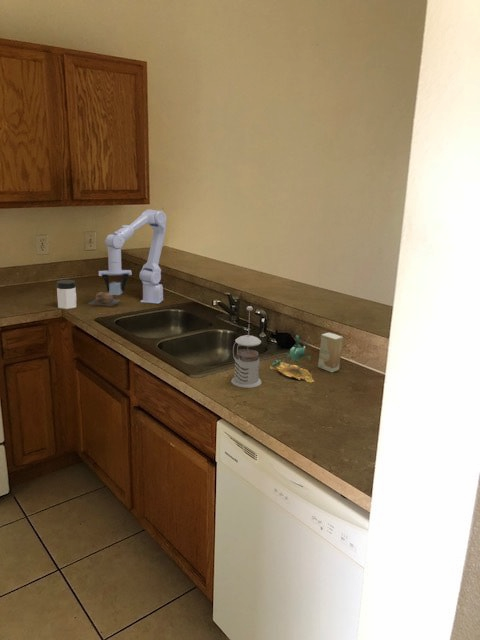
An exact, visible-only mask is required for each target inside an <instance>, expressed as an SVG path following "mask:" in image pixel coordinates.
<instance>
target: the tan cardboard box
mask: <svg viewBox="0 0 480 640" xmlns="http://www.w3.org/2000/svg"><path fill="white" fill-rule="evenodd" d="M95 299H96V298H95ZM113 299H114V296H113V297H112V298H110V299H108V300H104V299H96V303H103V304H109V303H110V302H112V301H113Z"/></svg>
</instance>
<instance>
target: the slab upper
mask: <svg viewBox="0 0 480 640" xmlns="http://www.w3.org/2000/svg"><path fill="white" fill-rule="evenodd" d="M112 297H113V298H114V295H109V291H107V292H106V291H100V292H98V293H96V294H95V299H104V300H108V299H110V298H112Z"/></svg>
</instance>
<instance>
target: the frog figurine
mask: <svg viewBox="0 0 480 640" xmlns="http://www.w3.org/2000/svg"><path fill="white" fill-rule="evenodd" d="M306 347H307V345H306V343H303V344H302V346H301V344H300V337H299V335H297V334H296V335H295V344H294V345H293V346H292V347H291V348H290V350H289V353H284V357H283V359H281V358H280V359H279V356H277V359H275V360H274V361H273V362H272V363H271V365H270V367H269V368H270V369H271V370H273V371H278V372H280V373H281V374H282V375H284V376H286V377H288V378H293V379H297V380H300V381H301V380H303V381H305V382H306V383H307V382H308V383H312V382H314V383H315V379H314V378H313V374H312V373H310V372H309V370H308V369H305V368H303V367H301V366H300V364H299V362H298V361H300V360H301V361H302V360H303V358H306V359H308V361H311V355H307V353H305V350H306V349H307V348H306ZM285 358H286V360H287V363H286V362H285ZM289 358H291V360H290V361H289ZM281 361H282V362H281ZM292 361H293V362H295V363H296V364H291V363H290V362H292Z"/></svg>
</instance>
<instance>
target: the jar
mask: <svg viewBox="0 0 480 640" xmlns="http://www.w3.org/2000/svg"><path fill="white" fill-rule="evenodd" d="M56 294H57V295H56V296H57V297H56V298H57V308H58V309H65V310H68V309H74V308H77V288H76V281H75V280H72V279H61V280H57V281H56Z"/></svg>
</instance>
